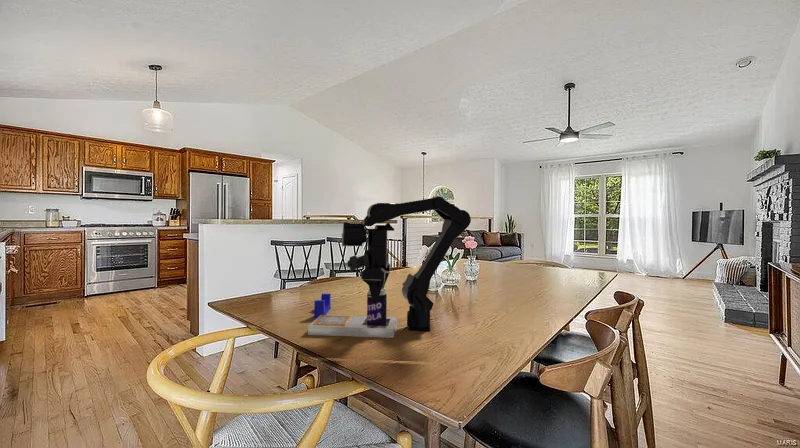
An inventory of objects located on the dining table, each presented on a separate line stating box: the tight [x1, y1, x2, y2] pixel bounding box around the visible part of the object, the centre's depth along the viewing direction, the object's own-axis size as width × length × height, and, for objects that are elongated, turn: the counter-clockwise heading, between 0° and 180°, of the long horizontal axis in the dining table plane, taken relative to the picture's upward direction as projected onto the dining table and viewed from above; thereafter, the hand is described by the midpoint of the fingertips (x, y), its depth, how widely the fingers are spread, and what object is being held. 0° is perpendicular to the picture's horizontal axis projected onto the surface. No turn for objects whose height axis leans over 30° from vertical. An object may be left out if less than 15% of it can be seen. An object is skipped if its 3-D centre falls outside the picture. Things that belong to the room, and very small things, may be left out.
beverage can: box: [366, 288, 388, 326], centre depth 101 cm, size 6×6×12 cm
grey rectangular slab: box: [307, 314, 398, 339], centre depth 102 cm, size 24×12×3 cm, turn 86°
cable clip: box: [313, 293, 332, 320], centre depth 119 cm, size 12×4×6 cm, turn 1°
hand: (376, 299), depth 101 cm, fingers open, 8 cm apart
